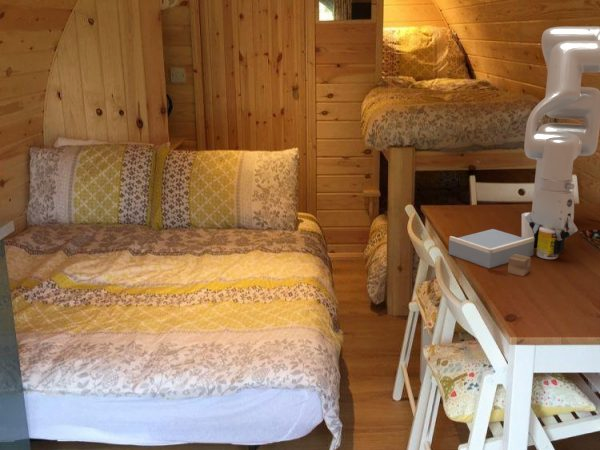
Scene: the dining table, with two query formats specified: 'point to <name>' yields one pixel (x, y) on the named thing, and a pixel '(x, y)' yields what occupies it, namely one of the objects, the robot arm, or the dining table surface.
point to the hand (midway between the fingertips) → (547, 249)
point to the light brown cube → (519, 265)
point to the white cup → (526, 227)
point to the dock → (490, 247)
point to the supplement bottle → (546, 243)
